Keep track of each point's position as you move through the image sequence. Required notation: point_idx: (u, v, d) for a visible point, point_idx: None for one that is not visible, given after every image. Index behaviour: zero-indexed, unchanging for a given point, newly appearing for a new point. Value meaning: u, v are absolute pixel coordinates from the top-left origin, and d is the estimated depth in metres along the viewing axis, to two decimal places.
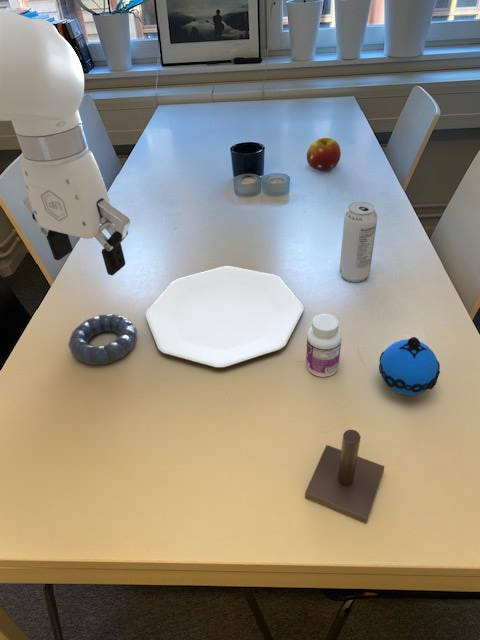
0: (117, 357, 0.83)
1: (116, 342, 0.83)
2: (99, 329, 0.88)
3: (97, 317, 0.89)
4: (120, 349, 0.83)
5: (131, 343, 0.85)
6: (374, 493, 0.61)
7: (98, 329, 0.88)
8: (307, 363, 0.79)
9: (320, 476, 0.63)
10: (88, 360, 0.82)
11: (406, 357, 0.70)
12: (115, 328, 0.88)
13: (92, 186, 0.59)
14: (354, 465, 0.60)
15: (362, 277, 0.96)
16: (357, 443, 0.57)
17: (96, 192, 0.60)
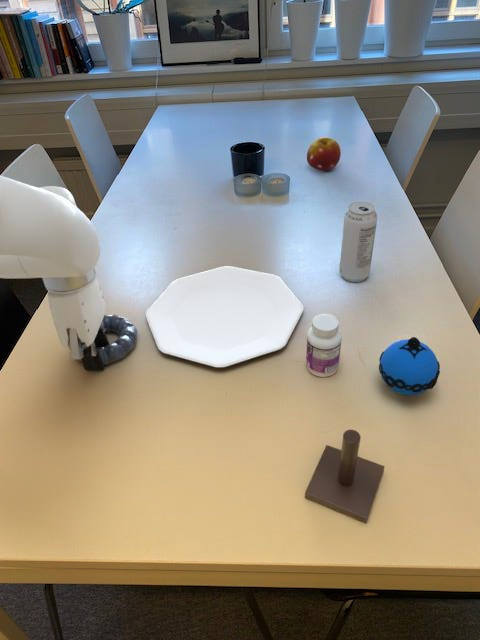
0: (117, 358, 0.83)
1: (116, 343, 0.83)
2: None
3: None
4: (120, 350, 0.82)
5: (131, 343, 0.84)
6: (374, 493, 0.61)
7: None
8: (307, 363, 0.79)
9: (320, 476, 0.63)
10: None
11: (406, 357, 0.70)
12: (115, 328, 0.88)
13: (63, 317, 0.71)
14: (354, 465, 0.60)
15: (362, 277, 0.96)
16: (357, 443, 0.57)
17: (67, 322, 0.72)
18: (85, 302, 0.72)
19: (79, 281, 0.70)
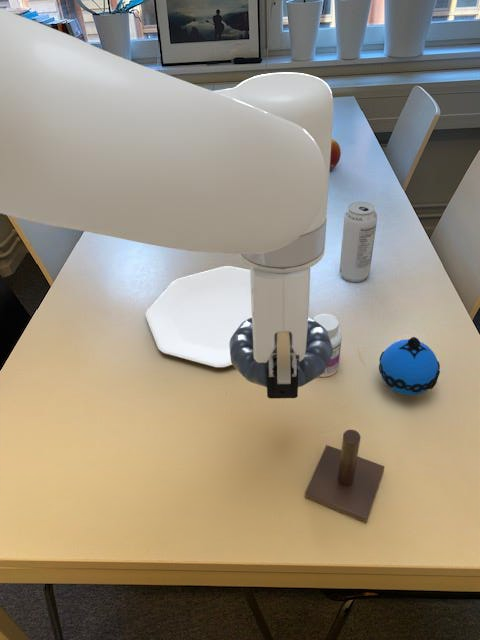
0: (315, 376, 0.53)
1: (312, 353, 0.53)
2: None
3: None
4: (320, 364, 0.53)
5: (330, 353, 0.55)
6: (374, 493, 0.61)
7: None
8: None
9: (320, 476, 0.63)
10: None
11: (406, 357, 0.70)
12: None
13: (277, 313, 0.41)
14: (354, 465, 0.60)
15: (362, 277, 0.96)
16: (357, 443, 0.57)
17: (281, 322, 0.42)
18: (309, 288, 0.42)
19: (313, 249, 0.40)
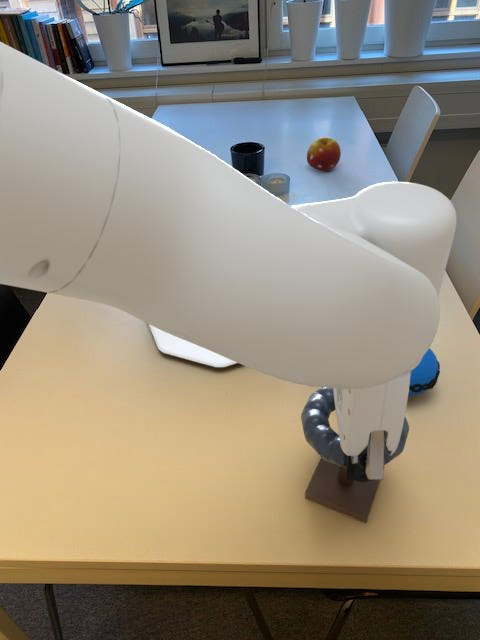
0: (394, 457, 0.52)
1: None
2: None
3: None
4: (400, 445, 0.52)
5: (407, 431, 0.53)
6: (374, 493, 0.61)
7: None
8: None
9: (320, 476, 0.63)
10: None
11: None
12: None
13: (375, 415, 0.40)
14: None
15: None
16: None
17: (379, 422, 0.41)
18: None
19: None
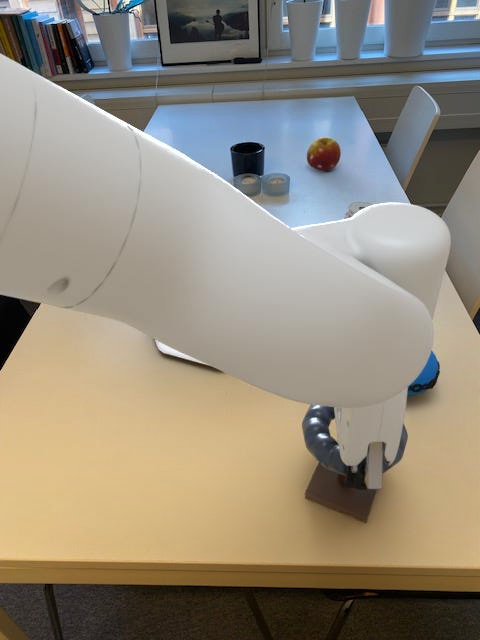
0: (393, 465, 0.53)
1: None
2: None
3: None
4: (398, 453, 0.53)
5: (406, 439, 0.55)
6: (374, 493, 0.61)
7: None
8: None
9: (320, 476, 0.63)
10: None
11: None
12: None
13: (374, 427, 0.41)
14: None
15: None
16: None
17: (377, 434, 0.42)
18: None
19: None
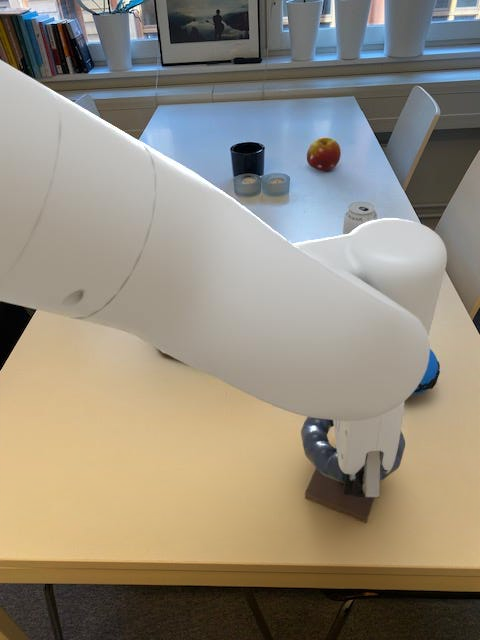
0: (390, 473, 0.54)
1: None
2: None
3: None
4: (396, 461, 0.53)
5: (404, 447, 0.55)
6: None
7: None
8: None
9: (320, 476, 0.63)
10: None
11: None
12: None
13: (371, 437, 0.42)
14: None
15: None
16: None
17: (375, 443, 0.43)
18: None
19: None
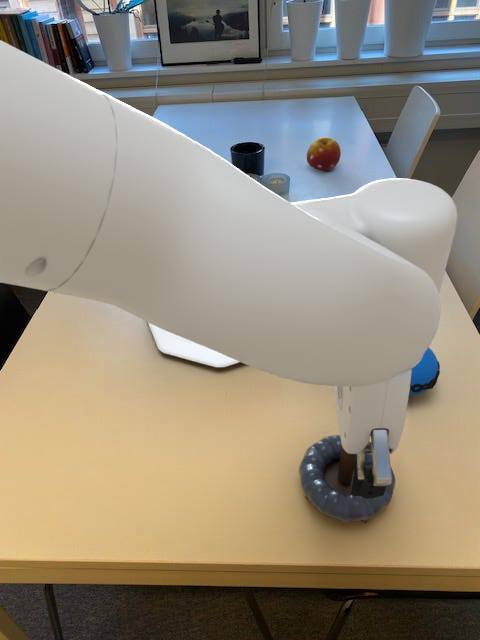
0: (382, 509, 0.58)
1: None
2: (332, 458, 0.64)
3: (328, 441, 0.64)
4: (387, 498, 0.58)
5: (394, 484, 0.60)
6: None
7: (331, 459, 0.64)
8: None
9: None
10: (346, 518, 0.57)
11: None
12: None
13: (376, 412, 0.40)
14: (354, 465, 0.60)
15: None
16: None
17: (380, 420, 0.41)
18: None
19: None
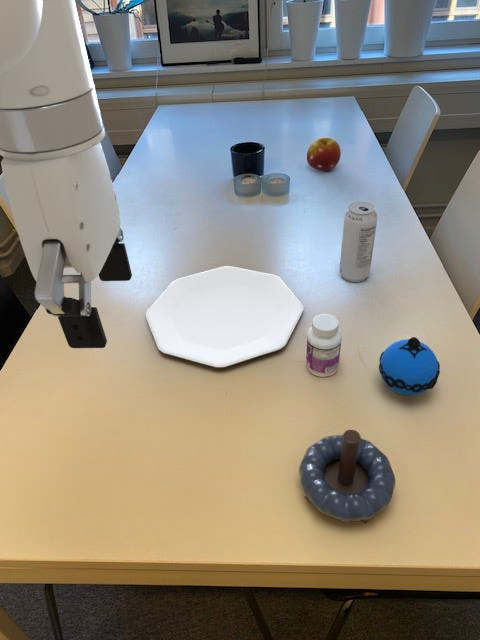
0: (382, 509, 0.58)
1: (379, 487, 0.59)
2: (332, 458, 0.64)
3: (328, 441, 0.64)
4: (387, 498, 0.58)
5: (394, 484, 0.60)
6: None
7: (331, 459, 0.64)
8: (307, 363, 0.79)
9: None
10: (346, 518, 0.57)
11: (406, 357, 0.70)
12: None
13: (35, 214, 0.34)
14: (354, 465, 0.60)
15: (362, 277, 0.96)
16: (357, 443, 0.57)
17: (44, 226, 0.34)
18: (82, 186, 0.35)
19: (69, 130, 0.32)
